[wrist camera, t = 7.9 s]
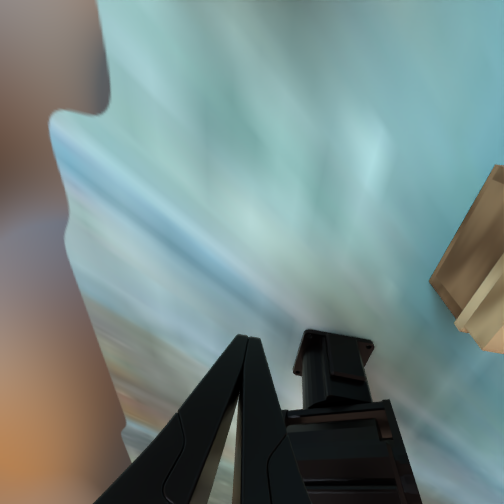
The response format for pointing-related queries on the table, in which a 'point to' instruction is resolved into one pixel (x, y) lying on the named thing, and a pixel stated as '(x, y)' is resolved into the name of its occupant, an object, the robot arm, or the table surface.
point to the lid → (486, 312)
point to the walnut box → (473, 247)
